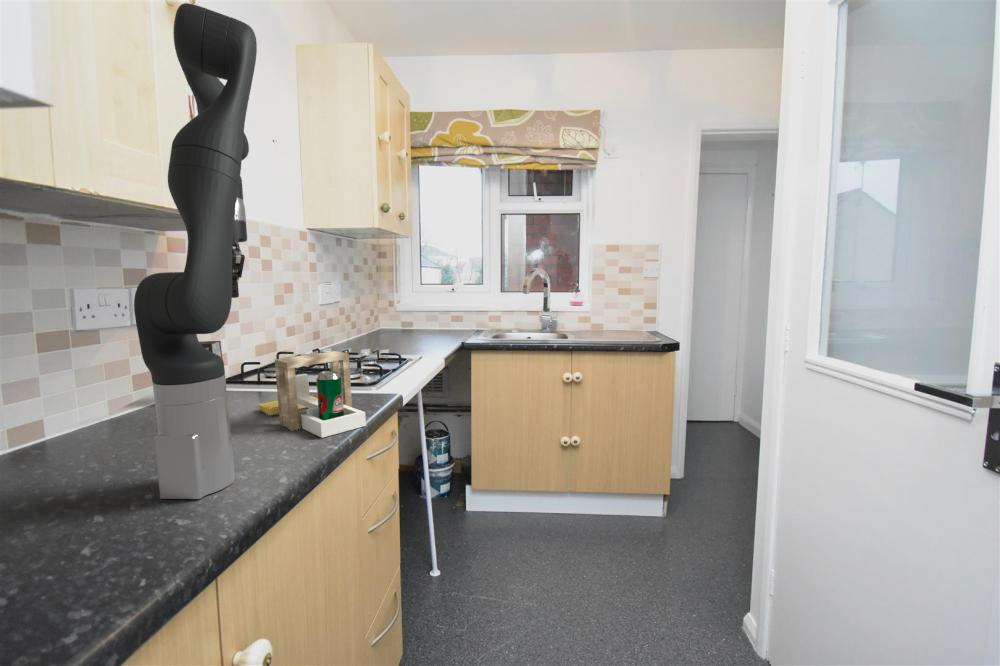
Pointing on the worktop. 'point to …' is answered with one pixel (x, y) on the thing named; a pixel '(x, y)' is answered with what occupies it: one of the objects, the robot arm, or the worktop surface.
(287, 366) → the tunnel
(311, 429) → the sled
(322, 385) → the soda can
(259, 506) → the worktop surface
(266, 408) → the yellow rectangular frame
